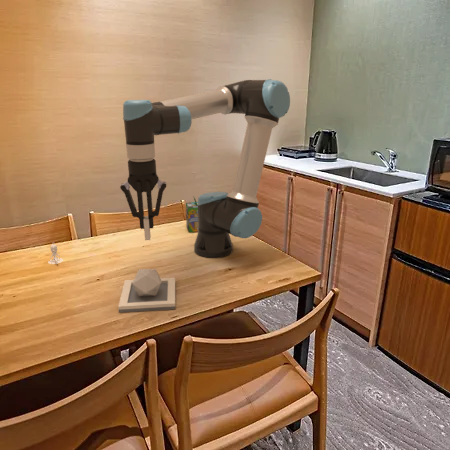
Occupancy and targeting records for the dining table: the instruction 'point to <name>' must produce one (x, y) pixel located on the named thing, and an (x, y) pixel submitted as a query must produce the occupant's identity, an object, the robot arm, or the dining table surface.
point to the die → (147, 282)
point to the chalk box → (192, 216)
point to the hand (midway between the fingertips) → (147, 238)
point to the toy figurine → (55, 259)
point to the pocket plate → (148, 298)
